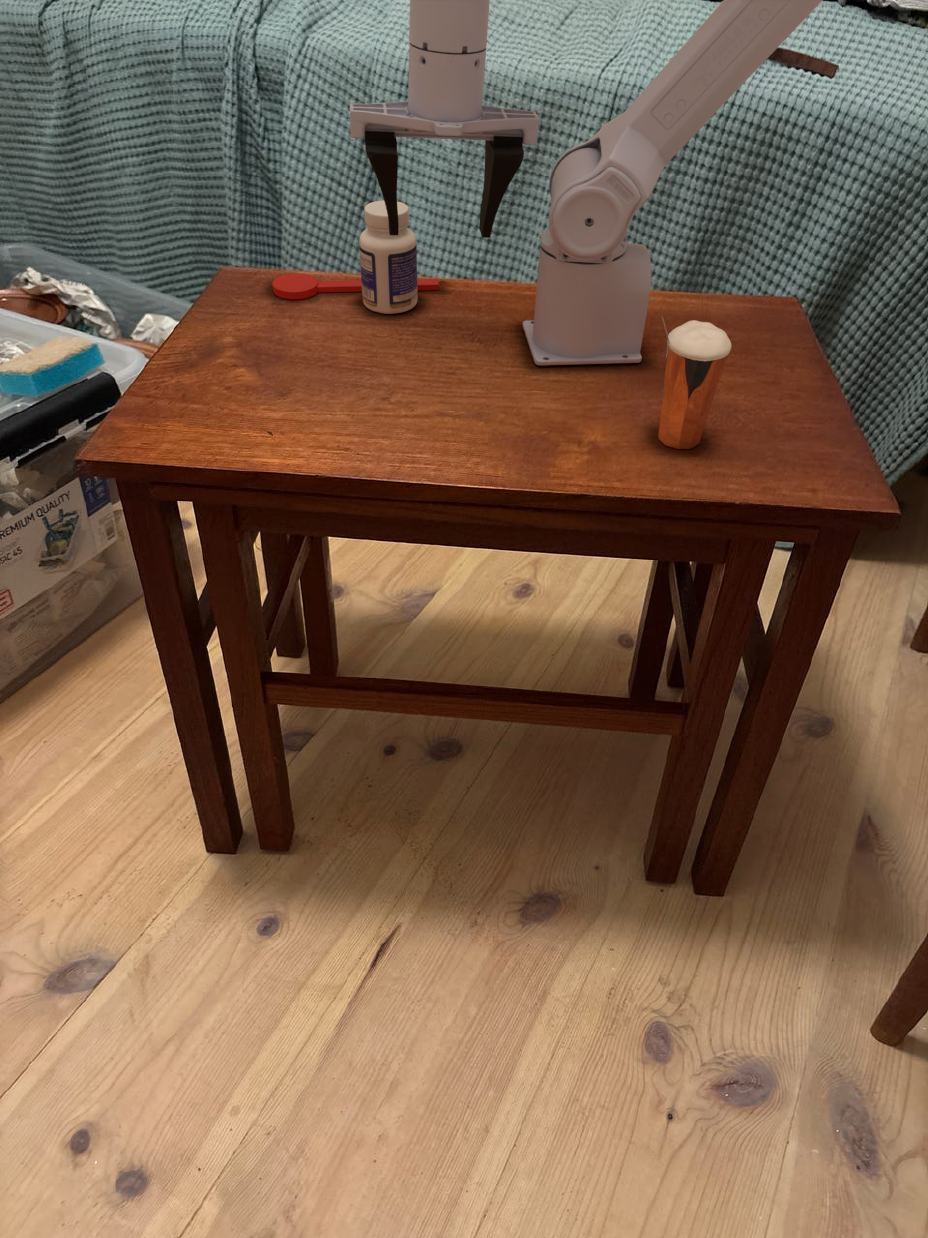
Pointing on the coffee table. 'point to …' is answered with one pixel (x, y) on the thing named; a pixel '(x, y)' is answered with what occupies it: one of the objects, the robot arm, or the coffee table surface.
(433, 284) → the red spoon
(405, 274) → the pill bottle
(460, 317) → the coffee table surface
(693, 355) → the milkshake
